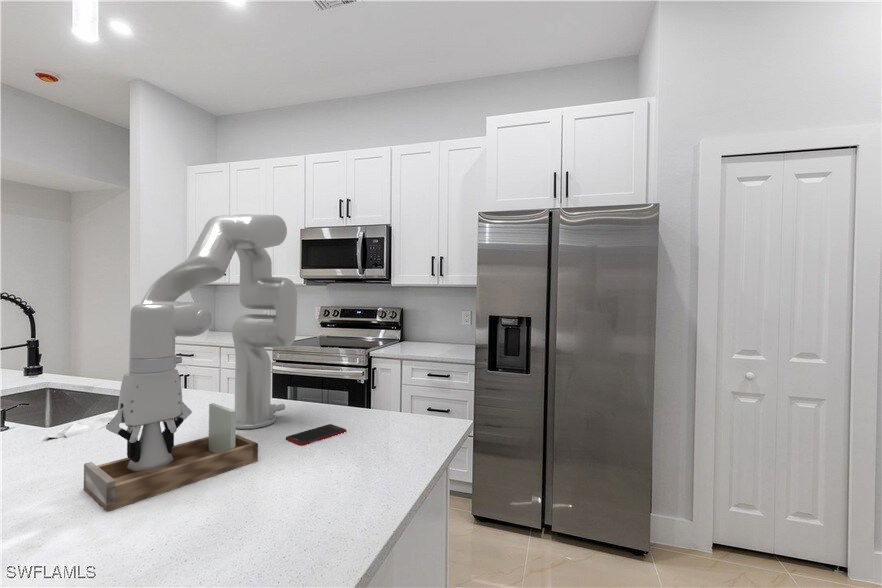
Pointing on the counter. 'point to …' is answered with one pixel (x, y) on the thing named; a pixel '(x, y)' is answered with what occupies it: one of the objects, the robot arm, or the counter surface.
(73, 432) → the cloth
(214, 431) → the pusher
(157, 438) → the flask
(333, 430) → the cell phone
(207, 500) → the counter surface
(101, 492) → the wooden rimmed tray
